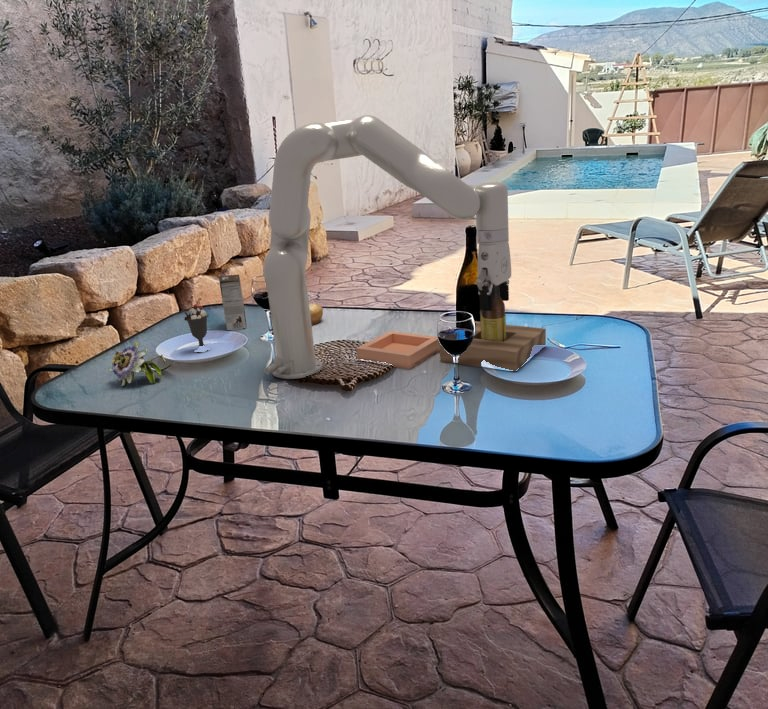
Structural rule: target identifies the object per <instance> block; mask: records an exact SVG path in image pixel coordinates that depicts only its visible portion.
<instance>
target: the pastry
mask: <svg viewBox="0 0 768 709" xmlns="http://www.w3.org/2000/svg"><path fill="white" fill-rule="evenodd" d="M308 297H309V298H311V299H313V297H312V296H311V295H310V294H308ZM309 308H310V316H311V325H312V326H314V325H317V324H319V323H320V322H321V320H322V318H323V315H324V309H323V307H322V305H320V304H318V303H314V302H311V303H310V302H309Z"/></svg>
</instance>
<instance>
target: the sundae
mask: <svg viewBox="0 0 768 709" xmlns="http://www.w3.org/2000/svg"><path fill="white" fill-rule="evenodd" d="M201 300H202V297H201V298H200V297H199V298H198V300H197V302H196V303H195V304H193V306H192V307H190V308H189V309H188V313H187V312H186V311H184V314H185V316H184V321H185V322H186V321H187V323H188V326H189V330H190V332H191V335H192V336H193V337H194V338H195V339H196V340H198V347H199V346H203V345H204V346H205V344H204V340H203V339H204V338H205V337H206V336H207V332H208V327H207V325H208V324H207V322H208V321H207V320H208V319H207V318H209V314H207V312H206V310H204V309H203V306H202V305H201V302H200V301H201ZM198 303H199V305H198Z"/></svg>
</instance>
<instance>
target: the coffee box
mask: <svg viewBox="0 0 768 709" xmlns="http://www.w3.org/2000/svg"><path fill="white" fill-rule="evenodd" d="M218 278H219V288H220V294H221V301H222V302H221V303H222V307H223V316H224V321H225V326H226V331H227V330H232V331H238V330H237V329H240V330H244V329H243V328H247V327H248V326H247V318H246V312H245V311H246V310H245V304H244V296H243V290H242V284H241V278H240V274H226V275H221V276H218Z"/></svg>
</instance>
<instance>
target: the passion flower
mask: <svg viewBox="0 0 768 709" xmlns="http://www.w3.org/2000/svg"><path fill="white" fill-rule="evenodd" d="M138 349H139V342H138V341H135V342H134V343H133V345H132V346H131V345H130V346H128V347H127V348H126V347H125V348H123V349H122V351H120V350H119V351H116V352H115V353H114V355H113V357H112V361H111V365H112V366H111V367H110V368H109V369H108V371H109V372H113V374H114V375H115V376H116V377H117V381H118V382H121V385H120V387H126V385H128V384H129V385H130V384H132V383H133V381H134V378H135V373H137V374H139V373H140V372H144V373H145V376H146V378H147V380H148V381H149V383H150V384H156V375H158V377H159V379H161V377H162V369H161V368H160V366H158V365H157V364H156V363H155V362H154V360H156V359H158V358H161V360H162V362H163V364H167V360H166V358H165V357H164V356H163V354H161V355H159V356H157V357H155V358H152V359H150V360H147V361H146V359H145V358H144V357H145V356H146V355H147V354H148V349H147V348H146V349H142V350H140V351H138ZM152 369H153V370H154V371H155V372H154V371H153V370H152ZM155 373H156V375H155Z"/></svg>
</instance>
